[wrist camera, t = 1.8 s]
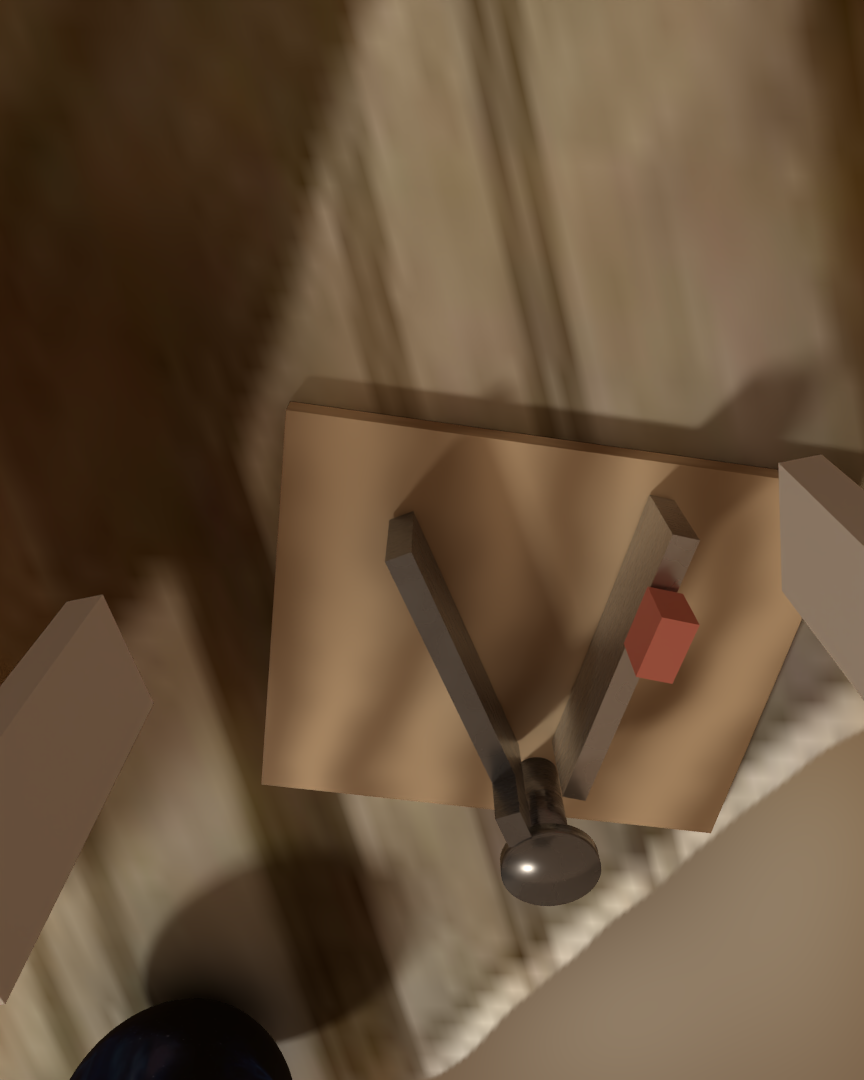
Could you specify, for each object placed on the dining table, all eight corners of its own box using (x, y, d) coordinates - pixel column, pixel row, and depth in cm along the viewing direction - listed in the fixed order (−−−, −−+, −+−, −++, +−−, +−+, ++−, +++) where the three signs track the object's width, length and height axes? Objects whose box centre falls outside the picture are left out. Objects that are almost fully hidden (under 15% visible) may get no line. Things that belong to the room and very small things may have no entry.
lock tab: (658, 650, 36) (672, 684, 33) (623, 643, 35) (635, 676, 33) (683, 593, 34) (699, 625, 32) (647, 586, 34) (661, 617, 32)
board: (265, 769, 46) (261, 784, 45) (290, 401, 36) (285, 410, 35) (704, 817, 48) (710, 833, 47) (845, 479, 38) (857, 489, 37)
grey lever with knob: (590, 794, 45) (612, 891, 39) (508, 817, 46) (520, 915, 40) (465, 492, 37) (471, 560, 31) (368, 527, 37) (357, 599, 32)
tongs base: (552, 793, 45) (566, 872, 41) (508, 785, 45) (517, 864, 40) (673, 499, 37) (709, 555, 32) (621, 487, 37) (649, 542, 32)
